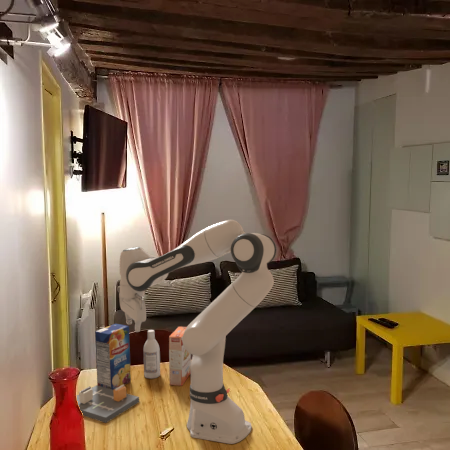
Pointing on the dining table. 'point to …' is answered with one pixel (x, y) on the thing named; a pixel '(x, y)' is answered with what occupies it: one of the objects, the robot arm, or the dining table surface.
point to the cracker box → (178, 358)
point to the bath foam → (151, 356)
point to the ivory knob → (86, 395)
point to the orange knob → (119, 393)
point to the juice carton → (113, 356)
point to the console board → (106, 404)
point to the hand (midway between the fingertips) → (133, 327)
